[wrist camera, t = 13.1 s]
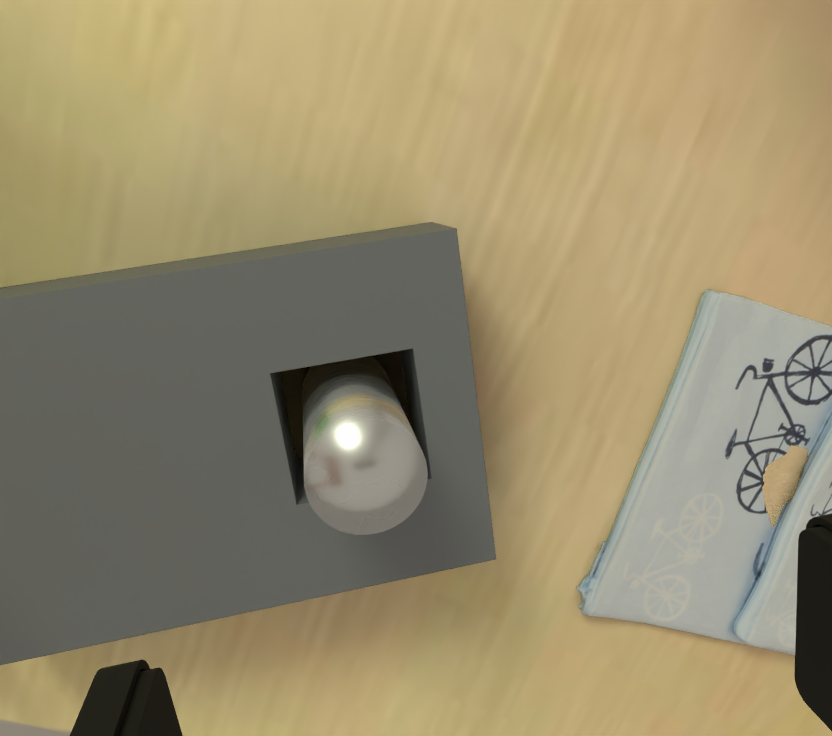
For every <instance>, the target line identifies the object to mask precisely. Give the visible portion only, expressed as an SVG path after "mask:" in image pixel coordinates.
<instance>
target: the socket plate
mask: <svg viewBox="0 0 832 736" xmlns="http://www.w3.org/2000/svg"><path fill="white" fill-rule="evenodd" d="M396 351H400V355H401V362H402V369H403V376H404V382H405V389H406V396H407V402H408V409H409V416H410V423H411V428H412V430H413V432H414V434H415V436H416V439H417V441H418V443H419V445H420V447H421V449H422V451H423V454H424V457H425V459H426V464H427V472H428V477H427V485H426V489H425V492H424V495H423V497H422V499H421V501H420V503H419V505H418V506H417V508H416V509H415V510H414V511H413V513H412V514H411V515H410V516H409V517H408V518H406V519H405V520H404V521H403V522H401V523H400V524H398V525H397V526H395V527H393V528H391V529H389V530H386V531H384V532H380V533H376V534H369V535H357V534H350V533H345V532H342V531H339V530H337V529H335V528H333V527H331V526H329V525H328V524H327V523H325V522H324V521H323V520H322V519H321V518H319V517H318V515H317V514H316V513H315V512H314V510H313V509H312V507H311V506H310V504H309V501H308V499H307V496H306V493H305V487H304V457H302V458H297V456H296V451H295V446H294V441H293V436H292V431H291V426H290V421H289V416H288V411H287V406H286V401H285V396H284V391H283V386H282V381H281V376H280V372H281V371H286V370H292V369H298V368H304V367H309V366H315V365H321V364H327V363H332V362H338V361H344V360H350V359H355V358H361V357H367V356H373V355H378V354H384V353H390V352H396ZM495 559H496V554H495V546H494V537H493V529H492V520H491V512H490V504H489V495H488V487H487V479H486V470H485V462H484V454H483V445H482V437H481V429H480V420H479V412H478V404H477V395H476V387H475V379H474V370H473V362H472V353H471V345H470V337H469V328H468V320H467V312H466V303H465V295H464V287H463V278H462V270H461V262H460V253H459V245H458V237H457V229H456V228H452V227H449V226H445V225H441V224H437V223H433V222H430V223H424V224H417V225H411V226H404V227H397V228H391V229H384V230H378V231H371V232H365V233H358V234H351V235H345V236H338V237H332V238H325V239H319V240H312V241H306V242H299V243H292V244H286V245H279V246H273V247H266V248H260V249H253V250H246V251H240V252H233V253H227V254H220V255H214V256H207V257H200V258H194V259H187V260H181V261H174V262H168V263H161V264H155V265H148V266H141V267H135V268H128V269H122V270H115V271H109V272H102V273H95V274H89V275H82V276H76V277H69V278H63V279H56V280H49V281H43V282H36V283H30V284H23V285H17V286H10V287H3V288H0V665H3V664H8V663H13V662H17V661H22V660H27V659H31V658H36V657H41V656H46V655H50V654H55V653H60V652H64V651H69V650H74V649H78V648H83V647H88V646H92V645H97V644H102V643H106V642H111V641H116V640H120V639H125V638H130V637H134V636H139V635H144V634H148V633H153V632H158V631H162V630H167V629H172V628H177V627H181V626H186V625H191V624H195V623H200V622H205V621H209V620H214V619H219V618H223V617H228V616H233V615H237V614H242V613H247V612H251V611H256V610H261V609H265V608H270V607H275V606H279V605H284V604H289V603H293V602H298V601H303V600H307V599H312V598H317V597H322V596H326V595H331V594H336V593H340V592H345V591H350V590H354V589H359V588H364V587H368V586H373V585H378V584H382V583H387V582H392V581H396V580H401V579H406V578H410V577H415V576H420V575H424V574H429V573H434V572H438V571H443V570H448V569H453V568H457V567H462V566H467V565H471V564H476V563H481V562H485V561H490V560H495Z"/></svg>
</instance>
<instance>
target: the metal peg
mask: <svg viewBox="0 0 832 736" xmlns="http://www.w3.org/2000/svg"><path fill="white" fill-rule="evenodd" d="M302 397H303V455H304V487H305V493H306V496H307V499H308V501H309V504H310V506H311V507H312V509H313V510H314V512H315V513H316V514H317V515H318V517H319V518H321V519H322V520H323V521H324V522H325V523H327V524H328V525H329V526H331V527H333V528H335V529H337V530H339V531H342V532H345V533H350V534H357V535H369V534H376V533H380V532H384V531H386V530H389V529H391V528H393V527H395V526H397V525H398V524H400V523H401V522H403V521H404V520H405V519H406V518H408V517H409V516H410V515H411V514H412V513H413V511H414V510H415V509H416V508H417V506H418V505H419V503H420V501H421V499H422V497H423V495H424V492H425V489H426V485H427V477H428V472H427V464H426V459H425V457H424V454H423V451H422V449H421V447H420V445H419V443H418V441H417V439H416V436H415V434H414V432H413V430H412V428H411V426H410V424H409V421H408V419H407V417H406V415H405V413H404V411H403V409H402V406H401V404H400V402H399V400H398V398H397V396H396V393H395V391H394V389H393V387H392V385H391V383H390V381H389V378H388V376H387V374H386V372H385V370H384V368H383V367H382V366H381V364H380V363H379V362H378V361H377V360H376V359H374V358H373V357H372V356H367V357H361V358H355V359H350V360H344V361H338V362H332V363H327V364H321V365H315V366H311V367H310V369H309V370H308V372H307V374H306V376H305V379H304V382H303V390H302Z"/></svg>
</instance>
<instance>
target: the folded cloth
mask: <svg viewBox="0 0 832 736" xmlns="http://www.w3.org/2000/svg"><path fill="white" fill-rule="evenodd" d="M791 445H795V446H797V445H798V446H799V447H804V448H806V449H808V450H809V452H808V456H809V457H808V456H807V457H808V461H807V462H806V463H805V465H804V467H803V471H802V473H801V477H800V480H799V483H798V486H797V488H796V491H795V493H794V496H793V498H792V500H791V501H789V502H788V503H787V504H785V505H784V507H783V509H782V512H781V515H780V516H779V518H778V520H777V522H776V524H775V526H774V528H773V529H772V527H771V524H770V520H769V516H768V514H767V512H766V507H765V502H764V498H763V491H762V486H763V484H764V482H763V474H764V473H765V468H766V467H767V465H769V464H770V463H772V462H773V461H775V460H777V459H778V458H779V457H780V456H781V457H783V456H784V455H785V454H787V452H788V450H789V448H790V446H791ZM831 513H832V326H829V325H826V324H823V323H820V322H817V321H813V320H810V319H807V318H804V317H801V316H798V315H795V314H792V313H788V312H785V311H783V310H780V309H777V308H774V307H771V306H768V305H765V304H762V303H759V302H756V301H753V300H750V299H747V298H745V297H742V296H737V295H732V294H728V293H724V292H718V293H717V292H714V291H712V290H709V289H708V290H706V291H705V292H704V294H703V296H702V298H701V300H700V303H699V306H698V309H697V312H696V315H695V318H694V321H693V324H692V326H691V329H690V332H689V335H688V338H687V341H686V344H685V347H684V349H683V352H682V355H681V358H680V361H679V364H678V366H677V369H676V371H675V374H674V377H673V379H672V382H671V384H670V387H669V389H668V391H667V394H666V397H665V399H664V402H663V404H662V407H661V409H660V412H659V414H658V417H657V420H656V422H655V425H654V427H653V429H652V432H651V434H650V437H649V439H648V441H647V444H646V446H645V448H644V451H643V453H642V455H641V457H640V460H639V462H638V465H637V467H636V470H635V472H634V475H633V477H632V480H631V483H630V485H629V488H628V490H627V493H626V495H625V497H624V500H623V502H622V505H621V507H620V510H619V512H618V515H617V517H616V520H615V522H614V525H613V528H612V530H611V533H610V535H609V538H608V540H607V541H603V544H602V547H601V550H600V552H598V553H597V556H596V558H595V560H594V563H593V565H592V567H591V569H590V573H589V576H586V577H585V578H584V580H583V581H582V583H581V585H580V586H579V587H576V588H577V589H578V590H579V591H580V593H581V595H582V603H581V605H579V606H578V608H580V609H581V613H582V614H587V615H589V616H594V617H608V618H614V619H621V620H628V621H635V622H641V623H647V624H652V625H656V626H661V627H666V628H671V629H676V630H681V631H686V632H690V633H695V634H700V635H704V636H708V637H712V638H717V639H722V640H727V641H732V642H737V643H742V644H746V645H750V646H754V647H759V648H764V649H768V650H773V651H778V652H783V653H787V654H791V655H795V644H796V606H797V568H798V539H799V534H800V533H801V531H803V530H805V529H806V525H807V523H808V521H809V520H810V519H812V518H813V517H817V516H822V515H827V514H831Z"/></svg>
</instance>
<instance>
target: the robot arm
mask: <svg viewBox="0 0 832 736" xmlns="http://www.w3.org/2000/svg"><path fill="white" fill-rule="evenodd" d="M795 682H796V686H797V689H798V691H799V693H800V695H801V697H802V699H803V700H804V701H805V703H806V704H807V705H808V706H809V707H810V708H811V710H812V711H813V712H814V713H815V714H816V715H817V716H818V717H819V718H820V719H821V720H822V721H823V722H824V723H825V724H826V725H827V727H828V728H829V729H830V730H831V731H832V513H831V514H827V515H822V516H817V517H813V518H812V519H810V520H809V521H808V523H807V525H806V529H805V530H803V531H801V533H800V534H799V539H798V568H797V606H796V644H795ZM70 736H182V732H181V729H180V725H179V722H178V719H177V715H176V712H175V708H174V705H173V701H172V698H171V694H170V691H169V688H168V684H167V681H166V677H165V674H164V672H163V670H162V669H161V668H155V669H150V668H149V665H148V664H147V662H146V661H144V660H139V661H134V662H129V663H124V664H120V665H115V666H110V667H106V668H101V669H100V670H98V672H97V673H96V675H95V677H94V679H93V682H92V684H91V686H90V689H89V691H88V694H87V696H86V698H85V701H84V703H83V706H82V708H81V710H80V713H79V715H78V718H77V720H76V722H75V725H74V727H73V730H72V732H71V734H70Z"/></svg>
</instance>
